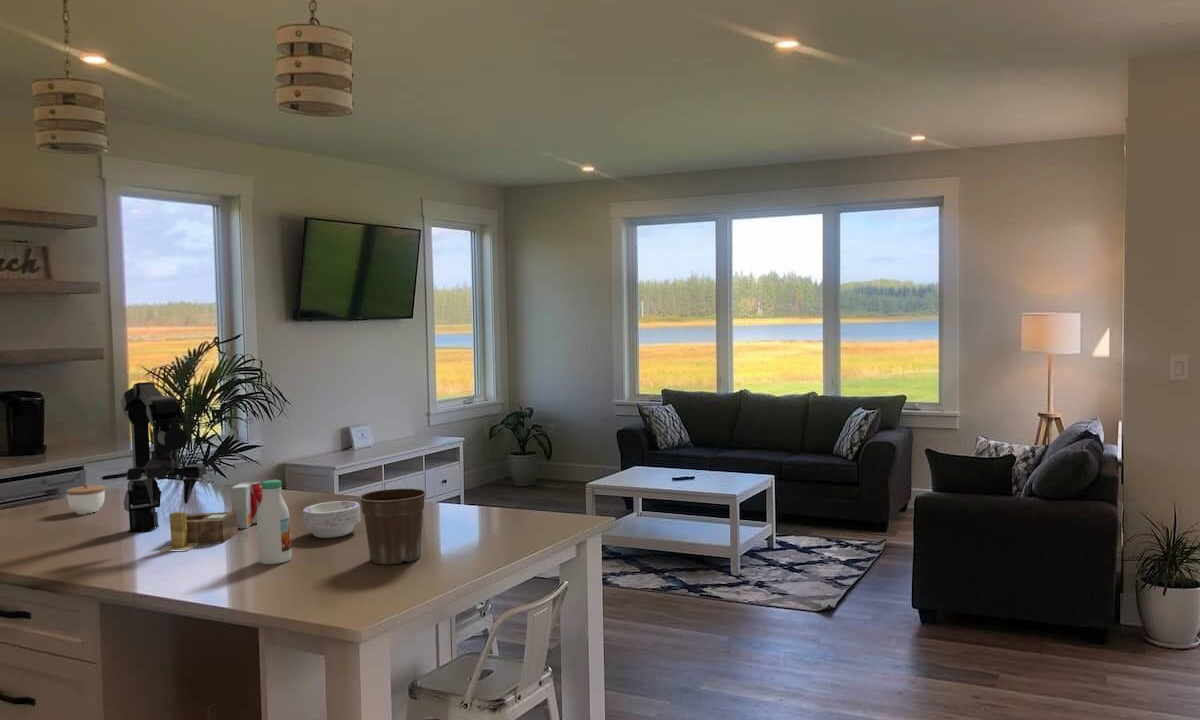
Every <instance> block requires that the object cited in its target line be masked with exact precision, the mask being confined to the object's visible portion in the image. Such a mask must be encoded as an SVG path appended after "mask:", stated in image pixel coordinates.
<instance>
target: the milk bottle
mask: <svg viewBox="0 0 1200 720" xmlns="http://www.w3.org/2000/svg"><path fill="white" fill-rule="evenodd" d="M261 486H262V491H263V497H262V501H261V503H260V506H259V508H258V512H257V524H256V532H257V533H256V534H257V553H258V562H259V563H260V564H261V565H278V564H282V563H283V564H284V563H287V562H289V561H291V559H292V555H293V554H292V540H291V539H292V538H291V520H290V512H289V508H288V505H287V504H286V501H285V500H284V498H283V496H282V492H281V491H282V480H280V479H268V480H264V481H262V482H261Z"/></svg>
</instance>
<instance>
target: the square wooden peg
mask: <svg viewBox="0 0 1200 720" xmlns="http://www.w3.org/2000/svg"><path fill="white" fill-rule="evenodd" d="M186 514H187V512H186V511H173V512H172V513H170V514H169V527H170V543H171V544H170V545H171V546H172V548H184V547H186V546H187V545H188V540H187V523H186Z"/></svg>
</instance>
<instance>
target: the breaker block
mask: <svg viewBox="0 0 1200 720" xmlns="http://www.w3.org/2000/svg"><path fill="white" fill-rule="evenodd" d="M222 514H227V516H225V517H224V518H217V519H207V518H208V517H209V516H211V515H222ZM186 523H187V540H188V543H206V544H219V543H218V542H224V543H225V541H226V540H227V541H229V540H230V539H232V538H233V537H234V536H235V535H237V534H238V533H237V532H238V529H237V513H236V512H232V511H228V512H227V511H226V512H202V513H186ZM236 533H237V534H236ZM233 535H234V536H233ZM232 536H233V537H232ZM229 538H230V539H229ZM227 541H226V542H227Z"/></svg>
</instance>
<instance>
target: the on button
mask: <svg viewBox="0 0 1200 720" xmlns="http://www.w3.org/2000/svg"><path fill="white" fill-rule="evenodd" d="M225 516H227V514H222V515H211V516H209V517H208V518H207V519H217V518H224V517H225Z"/></svg>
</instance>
